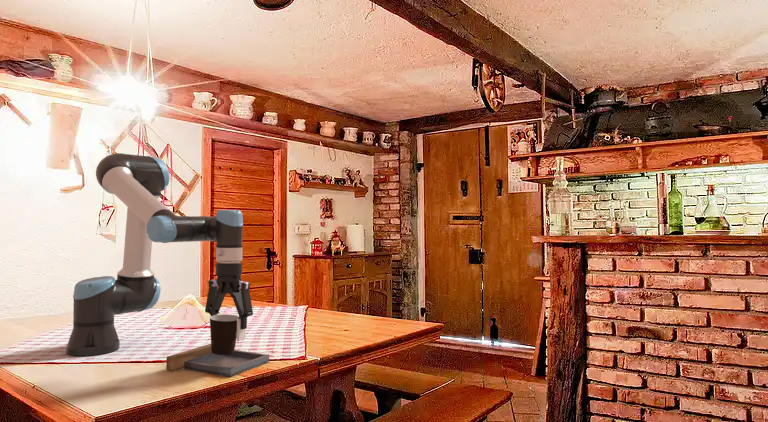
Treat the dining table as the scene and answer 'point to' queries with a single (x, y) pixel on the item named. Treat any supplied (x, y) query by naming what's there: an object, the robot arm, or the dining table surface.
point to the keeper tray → (226, 363)
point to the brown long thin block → (185, 357)
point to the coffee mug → (223, 333)
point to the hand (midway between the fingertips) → (228, 338)
